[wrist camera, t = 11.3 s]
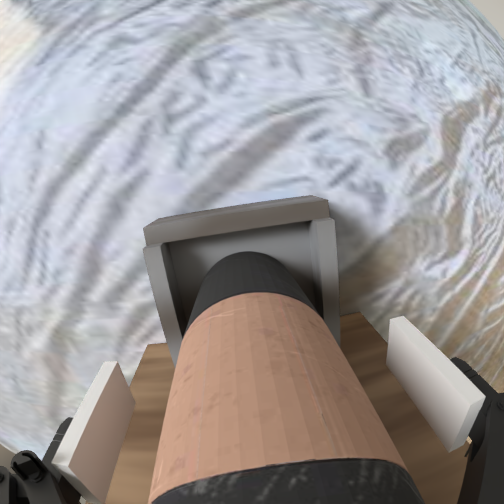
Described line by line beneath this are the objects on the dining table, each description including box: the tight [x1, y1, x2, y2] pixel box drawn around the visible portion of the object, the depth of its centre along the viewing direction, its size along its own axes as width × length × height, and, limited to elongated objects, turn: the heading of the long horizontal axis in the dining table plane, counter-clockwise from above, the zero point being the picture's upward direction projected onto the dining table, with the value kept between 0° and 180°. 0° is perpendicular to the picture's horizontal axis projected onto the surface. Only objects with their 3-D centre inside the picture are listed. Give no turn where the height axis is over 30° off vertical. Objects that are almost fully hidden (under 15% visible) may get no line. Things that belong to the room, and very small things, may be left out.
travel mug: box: [148, 251, 425, 504], centre depth 13 cm, size 8×8×20 cm
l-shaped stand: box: [86, 195, 470, 504], centre depth 15 cm, size 13×20×22 cm, turn 98°
